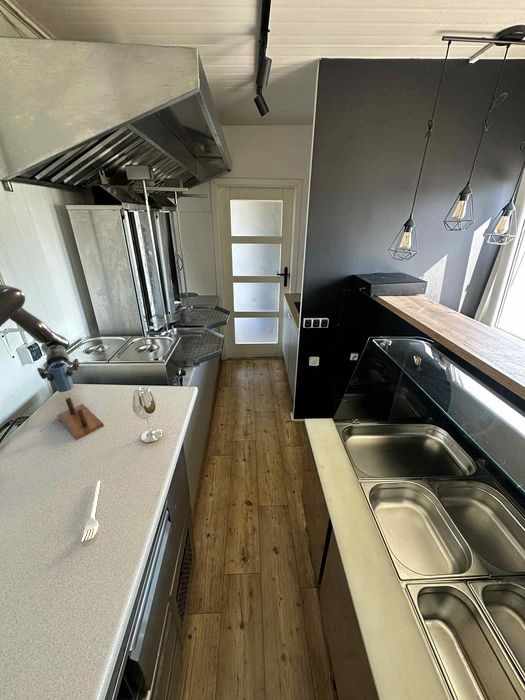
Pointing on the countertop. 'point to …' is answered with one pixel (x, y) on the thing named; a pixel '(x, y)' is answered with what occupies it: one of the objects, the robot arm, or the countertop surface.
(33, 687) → the countertop surface
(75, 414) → the peg rack
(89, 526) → the fork
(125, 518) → the countertop surface
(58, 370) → the tube peg
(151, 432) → the wineglass
